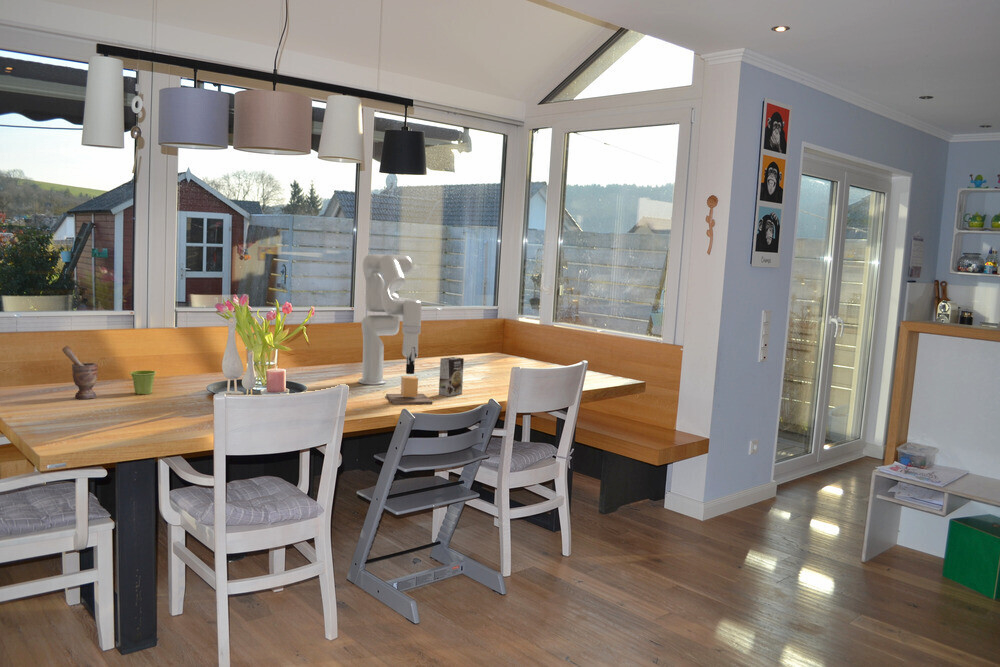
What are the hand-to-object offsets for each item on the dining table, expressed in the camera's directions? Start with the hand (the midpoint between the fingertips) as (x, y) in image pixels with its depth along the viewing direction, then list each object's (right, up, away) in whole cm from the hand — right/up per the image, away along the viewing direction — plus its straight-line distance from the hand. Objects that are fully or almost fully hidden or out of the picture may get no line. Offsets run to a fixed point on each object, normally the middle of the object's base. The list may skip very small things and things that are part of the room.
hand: (410, 373), depth 320 cm
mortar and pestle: (-123, -8, -25) cm, 126 cm away
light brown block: (-1, -9, +1) cm, 9 cm away
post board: (-1, -11, +1) cm, 11 cm away
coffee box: (+16, -10, +19) cm, 27 cm away
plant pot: (-106, -8, -11) cm, 107 cm away
